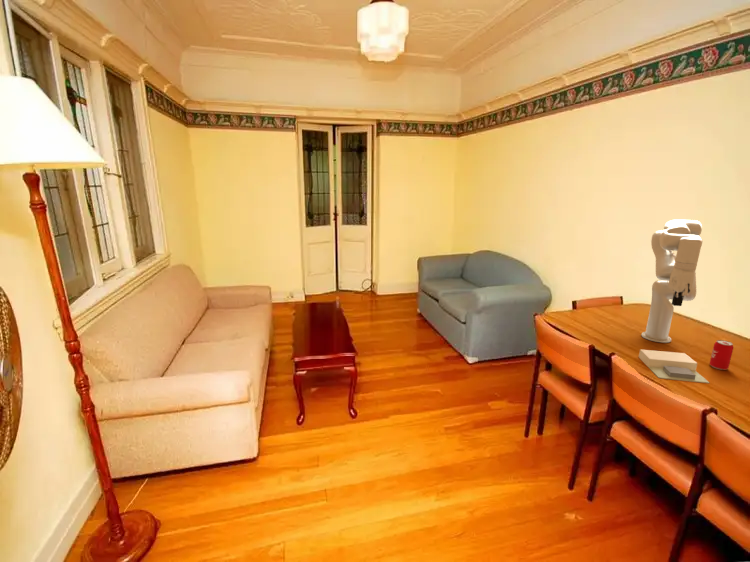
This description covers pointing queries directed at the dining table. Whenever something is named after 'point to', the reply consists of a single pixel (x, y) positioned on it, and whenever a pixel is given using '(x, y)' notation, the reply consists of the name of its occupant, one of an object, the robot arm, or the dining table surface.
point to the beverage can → (721, 354)
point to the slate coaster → (679, 372)
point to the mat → (663, 375)
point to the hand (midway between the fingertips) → (676, 305)
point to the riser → (667, 359)
